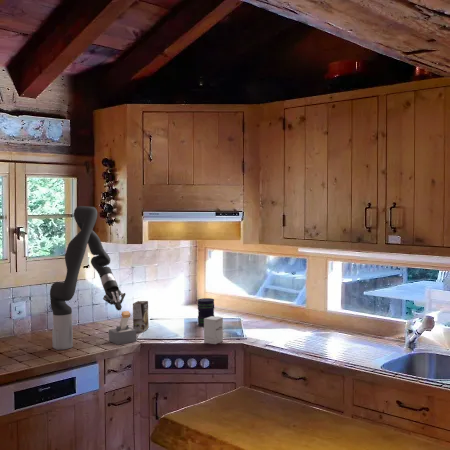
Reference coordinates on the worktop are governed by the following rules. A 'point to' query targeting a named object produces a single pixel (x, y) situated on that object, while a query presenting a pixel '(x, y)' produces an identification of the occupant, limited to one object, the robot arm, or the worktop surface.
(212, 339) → the supplement box
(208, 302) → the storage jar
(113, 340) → the block
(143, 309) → the coffee box
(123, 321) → the lever
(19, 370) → the worktop surface
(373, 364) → the worktop surface
